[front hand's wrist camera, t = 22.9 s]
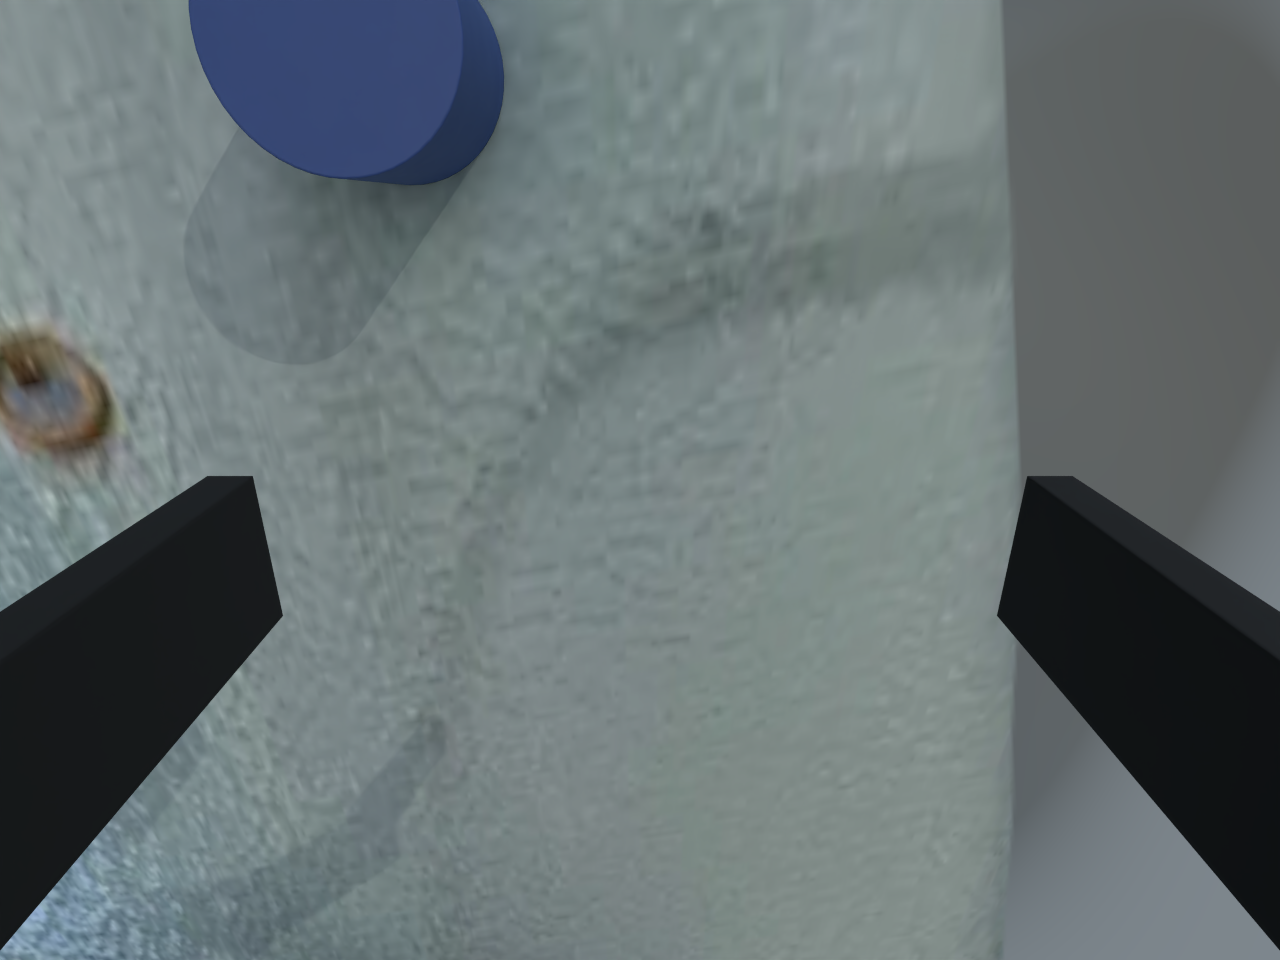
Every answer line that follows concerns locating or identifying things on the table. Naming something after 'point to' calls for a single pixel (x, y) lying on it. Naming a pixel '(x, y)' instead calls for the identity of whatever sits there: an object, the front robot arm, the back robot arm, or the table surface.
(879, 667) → the table surface
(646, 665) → the table surface
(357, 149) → the cylinder
